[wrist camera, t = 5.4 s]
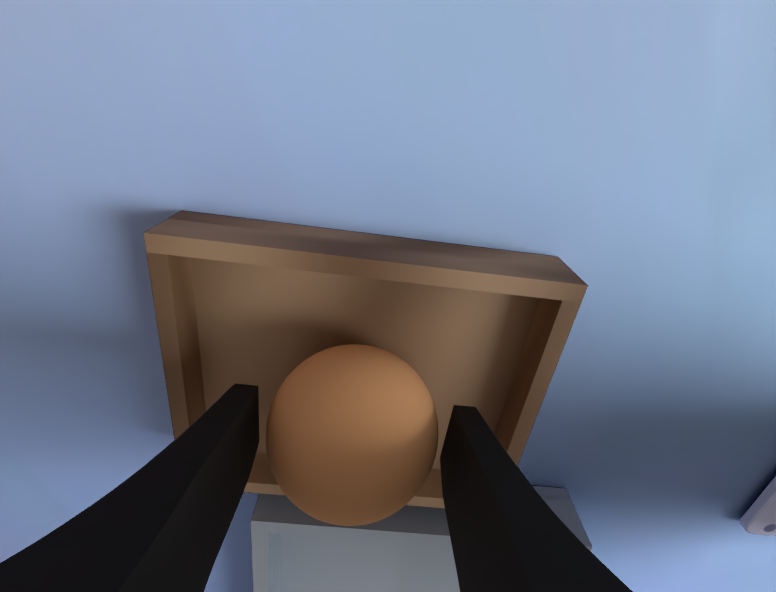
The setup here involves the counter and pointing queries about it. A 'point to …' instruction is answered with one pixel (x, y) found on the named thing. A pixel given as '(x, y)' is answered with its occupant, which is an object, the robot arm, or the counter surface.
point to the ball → (352, 435)
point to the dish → (365, 548)
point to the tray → (355, 319)
